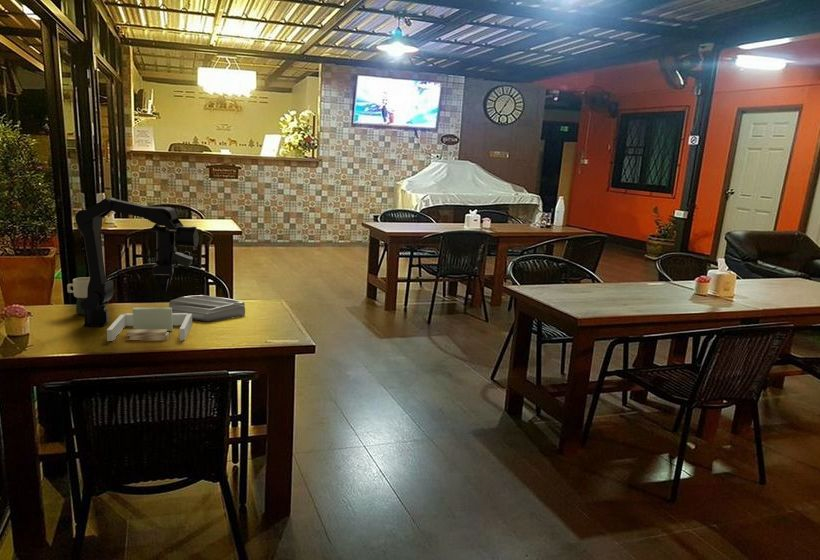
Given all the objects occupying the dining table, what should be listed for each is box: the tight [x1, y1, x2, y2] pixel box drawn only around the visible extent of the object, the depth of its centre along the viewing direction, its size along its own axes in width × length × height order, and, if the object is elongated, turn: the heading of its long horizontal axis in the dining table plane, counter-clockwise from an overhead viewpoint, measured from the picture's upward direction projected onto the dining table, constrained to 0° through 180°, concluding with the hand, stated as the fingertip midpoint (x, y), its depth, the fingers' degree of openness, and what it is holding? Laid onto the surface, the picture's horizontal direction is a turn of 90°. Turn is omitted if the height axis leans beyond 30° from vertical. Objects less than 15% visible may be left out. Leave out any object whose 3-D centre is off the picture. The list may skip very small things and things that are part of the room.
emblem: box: [168, 294, 246, 323], centre depth 224 cm, size 28×5×28 cm
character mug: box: [66, 276, 90, 315], centre depth 212 cm, size 11×7×13 cm, turn 107°
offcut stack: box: [125, 328, 170, 341], centre depth 190 cm, size 12×4×3 cm, turn 101°
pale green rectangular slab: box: [132, 307, 174, 332], centre depth 197 cm, size 12×2×8 cm, turn 103°
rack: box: [106, 313, 193, 342], centre depth 196 cm, size 23×20×4 cm
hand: (166, 289), depth 200 cm, fingers open, 9 cm apart
